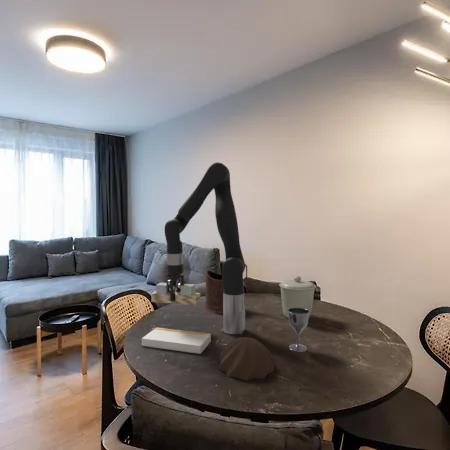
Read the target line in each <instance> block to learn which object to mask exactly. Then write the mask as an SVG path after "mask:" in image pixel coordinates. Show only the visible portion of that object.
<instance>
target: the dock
mask: <svg viewBox="0 0 450 450" xmlns="http://www.w3.org/2000/svg"><path fill="white" fill-rule="evenodd" d="M211 341H212V334H211V333H208V332H207V333H206V332H199V331H192V330H183V329H182V330H181V329H176V328H175V329H173V328H165V327H155V328H153V329H152V330H151V331H150V332H148V333H147V334H146V335H144V336H143V337H142V338H141V346H142V347H147V348H155V349H164V350H171V351H177V352H178V351H179V352H185V353H192V354H199V355H200V354H202V353H203V351H204V350H205V349H206V348H207V346H208V345H209V344H210V343H211Z"/></svg>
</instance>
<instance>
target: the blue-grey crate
mask: <svg viewBox="0 0 450 450" xmlns="http://www.w3.org/2000/svg"><path fill="white" fill-rule="evenodd" d="M169 290H170V288H169ZM155 291H156V294H167V293H168V292H167V283H166V282H158V283H157V284H155Z"/></svg>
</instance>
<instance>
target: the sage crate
mask: <svg viewBox="0 0 450 450" xmlns="http://www.w3.org/2000/svg"><path fill="white" fill-rule="evenodd" d="M195 293H196V284H195V283H183V285H182V286H181V295H186V296H192V295H193V294H195Z"/></svg>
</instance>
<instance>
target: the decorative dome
mask: <svg viewBox="0 0 450 450" xmlns="http://www.w3.org/2000/svg"><path fill="white" fill-rule="evenodd" d="M269 350H270V349H268V348H267V347H266V346H265V345H264V344H263V343H262V342H261V341H259V340H257V339H255V338H252V337H247V336H246V337H237V338H236V339H233V340H231V341H229V342H228V343H227V344H226V345H225V349H223V350H222V351H221V352H220V354H219V362H220V364H219V366H218V370H219V371H221V372H224V373H225V375H226V376H227V377H229V378H238V379H240V380H243V381H251V380H253V379H265V378H266V377H267V375H269V374H271V373H273V372H274V371H275V362H274V358H273V356H272V353H271V351H269Z"/></svg>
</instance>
